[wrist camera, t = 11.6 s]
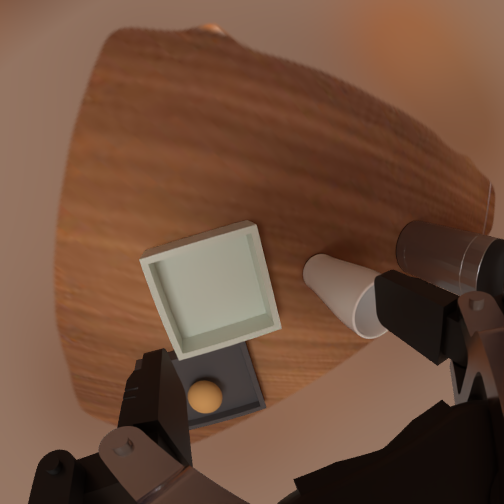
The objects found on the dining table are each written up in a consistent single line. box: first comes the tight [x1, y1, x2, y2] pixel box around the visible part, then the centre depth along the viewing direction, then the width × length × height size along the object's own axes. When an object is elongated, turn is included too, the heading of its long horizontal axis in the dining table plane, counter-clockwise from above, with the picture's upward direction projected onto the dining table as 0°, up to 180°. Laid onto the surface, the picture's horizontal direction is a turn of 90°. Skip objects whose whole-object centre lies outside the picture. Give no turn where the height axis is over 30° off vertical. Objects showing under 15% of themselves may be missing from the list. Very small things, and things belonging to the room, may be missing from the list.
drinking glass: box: [303, 254, 388, 339], centre depth 34 cm, size 7×7×15 cm
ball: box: [188, 380, 222, 413], centre depth 38 cm, size 5×5×5 cm
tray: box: [135, 341, 266, 430], centre depth 40 cm, size 16×14×2 cm
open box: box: [139, 220, 282, 360], centre depth 36 cm, size 14×14×5 cm
